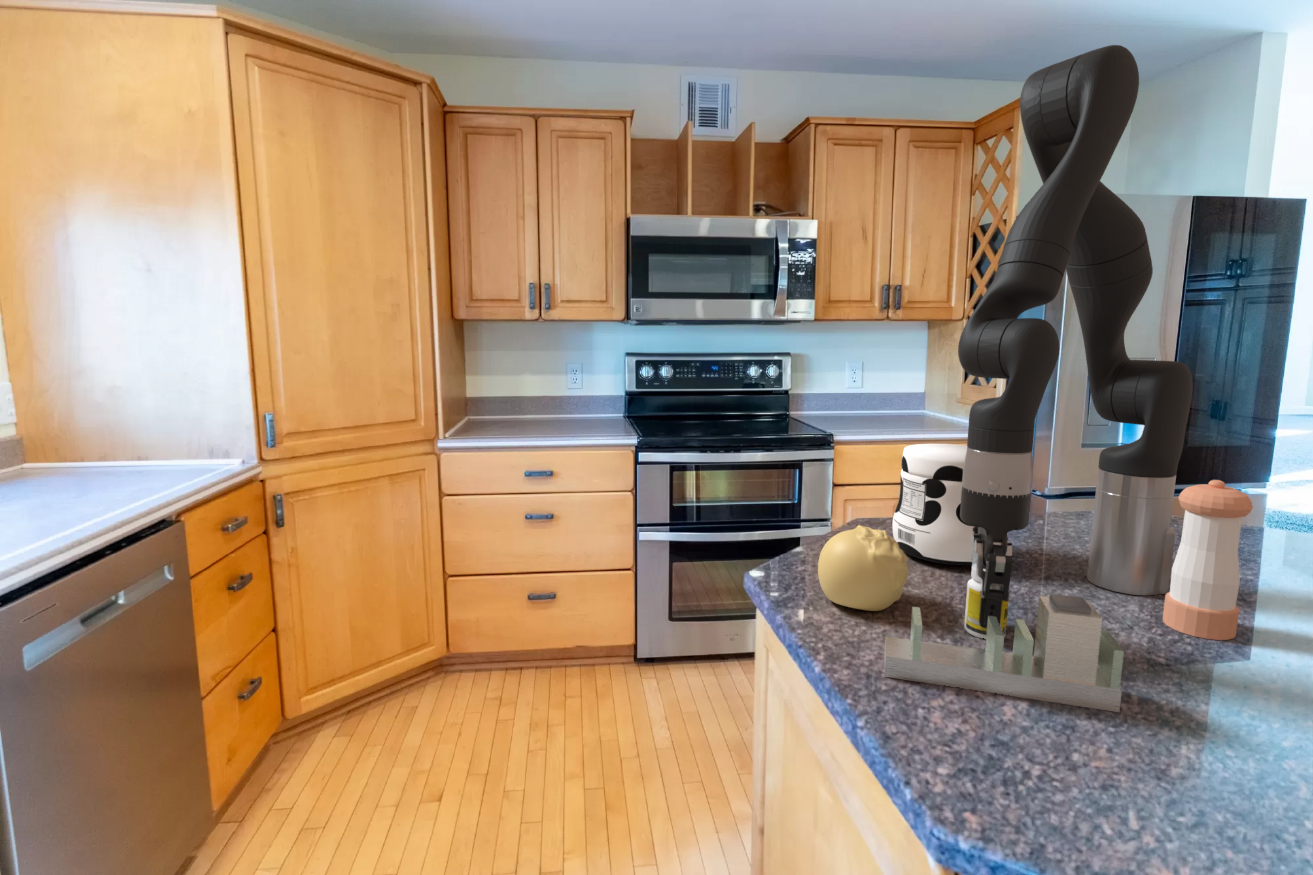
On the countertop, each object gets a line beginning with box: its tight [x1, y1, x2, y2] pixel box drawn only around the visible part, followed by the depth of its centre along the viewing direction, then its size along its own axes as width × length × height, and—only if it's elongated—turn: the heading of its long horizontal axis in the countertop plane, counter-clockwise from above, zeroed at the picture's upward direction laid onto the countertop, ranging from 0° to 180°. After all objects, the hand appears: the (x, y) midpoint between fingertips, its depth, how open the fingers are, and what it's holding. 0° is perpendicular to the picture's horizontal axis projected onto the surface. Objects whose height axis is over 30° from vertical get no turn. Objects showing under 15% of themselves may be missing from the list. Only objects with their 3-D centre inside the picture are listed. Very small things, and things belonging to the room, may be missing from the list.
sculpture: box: [817, 524, 909, 612], centre depth 92 cm, size 12×12×11 cm
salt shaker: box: [1162, 479, 1254, 641], centre depth 83 cm, size 7×7×19 cm
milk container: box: [892, 443, 974, 566], centre depth 110 cm, size 17×17×18 cm
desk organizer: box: [883, 593, 1125, 713], centre depth 70 cm, size 22×5×10 cm, turn 72°
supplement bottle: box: [963, 564, 1010, 640], centre depth 82 cm, size 5×5×8 cm
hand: (985, 617), depth 83 cm, fingers closed on supplement bottle, 4 cm apart
